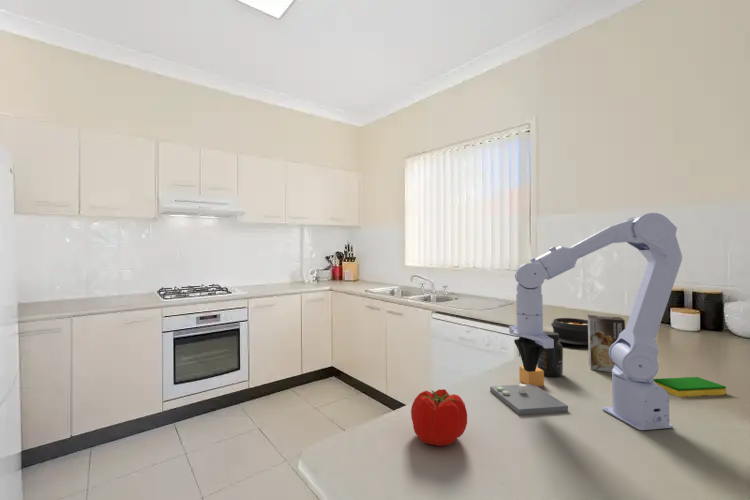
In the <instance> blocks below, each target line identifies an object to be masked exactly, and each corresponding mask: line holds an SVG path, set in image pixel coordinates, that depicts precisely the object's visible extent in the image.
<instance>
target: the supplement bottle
mask: <svg viewBox="0 0 750 500" xmlns="http://www.w3.org/2000/svg"><path fill="white" fill-rule="evenodd" d="M543 333H544V334H546V335H547V336H548V337H550V338H551V339H554V348H544V349H543V351H542V353H541V355H540V357H539V360H538V363H537V367H538V368H540V369H541V370H543V371H544V377H552V378H560V377H561V376H563V373H564V351H563V350H564V347H563V345H562V343H561V342H558V341H559V334H558V333H554V331H543Z"/></svg>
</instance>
